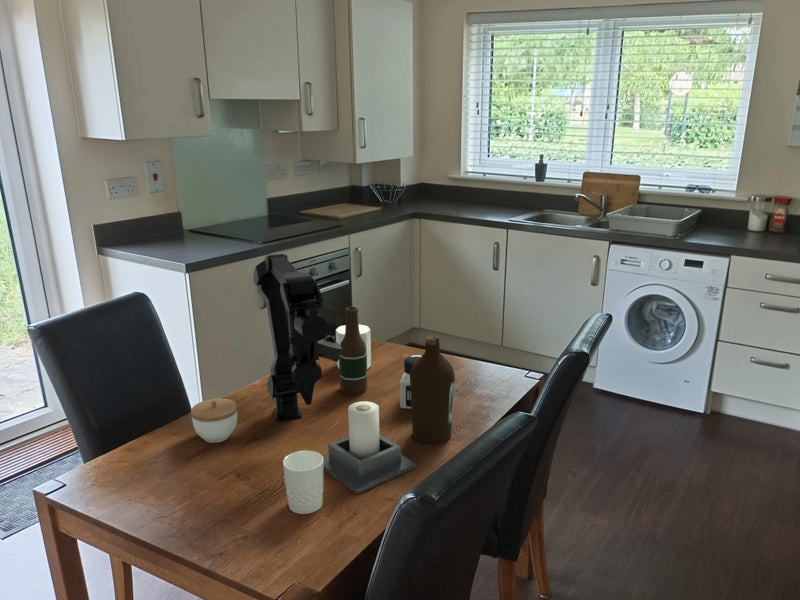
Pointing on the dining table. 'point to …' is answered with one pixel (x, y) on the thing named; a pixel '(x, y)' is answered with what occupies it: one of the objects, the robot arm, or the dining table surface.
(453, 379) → the olive oil
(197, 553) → the dining table surface
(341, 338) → the toilet paper
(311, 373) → the robot arm
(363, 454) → the white paper towel roll
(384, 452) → the square open box
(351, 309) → the beer bottle
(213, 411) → the lidded jar
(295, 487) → the white cup
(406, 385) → the container
